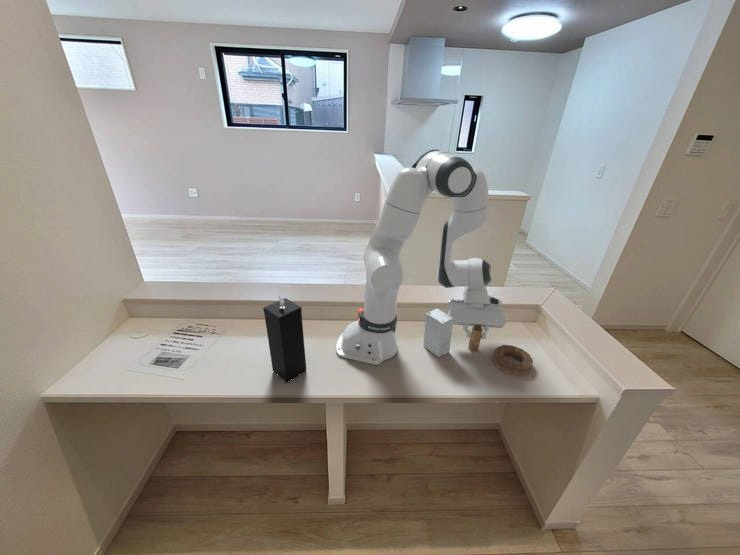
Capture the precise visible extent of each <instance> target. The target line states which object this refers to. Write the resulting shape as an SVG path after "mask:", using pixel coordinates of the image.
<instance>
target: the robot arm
mask: <svg viewBox="0 0 740 555" xmlns="http://www.w3.org/2000/svg"><path fill="white" fill-rule="evenodd" d="M433 192H435V193H437V194H439V195H442V196H443V197H446V198H451V205H452V206H451V207H452V211H451V215H450V218H449V219H448V220H446V221H444V224H443V228H442V235H441V245H440V255H439V264H438V268H437V276H436V277H437V280H438V283H439V284H440V285H441V286H443V288H445V289H448V288H450V289H451V288H458V287H459V288H460V287H461V288H462V287H463V292H462V296H463V297H462V298H463V299H455V298H454V299H451V300H449V301H447V303H446V308H447V311H448V312H447V315H449V316H451V317H452V318H453V325H457V326H462V327H463V330H464V333H465V334H466V335H465V336H466V338H467V339H470V338H471V337H472V335H471V334H472V331H470V330H469V329H468V328H469V326H470V327H471V326H472V327H474V326H475V325H480V326H481V327H482V329H483V332H482V336H481V340H486V339H487V334H488V333H487V332H489V330H490V328H494V329H495V328H496V329H502V328H504V327H505V325H506V315H505V310H504V308H503V307H502V303H503V302H502V300H501V299H499V298H496V297H493V296H491V295H489V292H488V289H487V286H488V285H489V284H490V283H491V282H492V277H491V273H492V272H491V270H492V265H491V264H490V263H489V262H487V261H486V260H485V259H482V258H478V257H472V258H468V259H461V260H459V259H457V260H455V259H452V254H453V246H454V243H455V242H456V241H458V240H459V239H461V238H464V237H465V236H468V235H471V234H473V233H475V232H477V231H479V230H480V229H482V228H483V226H484V225H485V224H486V223H487V221H488V219H489V212H490V193H489V186H488V181H487V178H486V174H485V173H484V172H483V170H481V169H480V168H479V169H478V168H476V167H473V166H472V165H471V164H470V162H468V161H467V160H466V159H465V158H463V157H461V156H457V155H455V154H454V153H452V152H450V151H449V152H448V151H445V150H440V149H431V150H427V151H425V152H423V153H422V154H421V155H420V156H418V158H417V159H416V161H415V162H414V163H413V165H412V166H411V167H405V168H402V169H401V170H399V171H398V172H397V174H396V176H395V177H394V179H393V181H392V183H391V185H390V188H389V190H388V193H387V195H386V198H385V201H384V204H383V206H382V209H381V213H380V216H379V219H378V221H377V225H376V226H375V229H374V230H373V232H372V233H371V234H372V235H371V237H370V239H369V241H368V243H367V245H366V247H365V249H364V252H363V262H364V269H365V275H366V276H365V278H366V279H365V280H366V281H365V290H364V295H363V296H364V297H363V298H364V299H363V305H364V306H363V308H361V307H360V308H359V309H358V312H357V314H358V316H357V320H356V321H353V322H351V323H349V324H348V325H347V326H346V328H345V330H344V332H342V333H341V334H340V336H339V337H338V339H337V341H336V346H335V351H336V354H338V355H337V356H338V357H340V358H344V359H348V360H353V361H357V362H362V363H367V364H371V365H375V366H379V365H380V364H382V362H384V361H387V360H389V359H392V358H393V357H394V356H395V355H396V354H397V353H398V350H399V346H398V344H397V339H396V338H397V337H396V329H397V324H398V316H397V305H398V304H397V301H398V295H399V291H400V288H401V285H402V283H403V280H404V279H403V278H404V271H403V270H404V269H403V265H402V263H401V261H400V253H401V250H402V249H403V247H404V246H405V244H406V243H407V241H408V240H410V239H411V237H413V236H412V235H413V234H414V230H415V229H416V225H417V222H418V220H419V218H420V215H421V212H422V210H423V206H424V204H425V202H426V200H427V198H428V197H429V196H430V194H431V193H433Z"/></svg>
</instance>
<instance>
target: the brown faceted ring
mask: <svg viewBox="0 0 740 555" xmlns="http://www.w3.org/2000/svg"><path fill="white" fill-rule="evenodd" d="M505 357H511V358H514V359H516V360H518V361H519V363H518V362H513V361H511V360H508V359H507V358H505ZM492 360H493V363H494V366H496V367H498V368H499V369H500V370H501V371H502V372H504V373H507V374H509V375H513V376H525V375H527V374H529V373H530V371H531V368H532V367H533V362H534V360H533V358H532V357H531V355H530V354H529V353H528V352H527V351H526V350H524V349H523V348H521V347H518V346H515V345H511V344H502V345H499V346H497V347H495V350H494V352H493V356H492Z"/></svg>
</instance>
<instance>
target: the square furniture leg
mask: <svg viewBox="0 0 740 555" xmlns="http://www.w3.org/2000/svg"><path fill="white" fill-rule="evenodd" d="M262 310H263V315H264V319H265V327H266V334H267V341H268V346H269V347H268V348H269V354H270V359H271V368H272V372H273V371H274V372H275V373H276V374H275V373H274V372H273V373H274V374H275V375H277V374H278V375H279V376H280V377H281V378H282V379H281V378H280V377H279V376H278V375H277V376H278V377H279V378H280V379H281V380H283V379H284V380H285V381H286V382H288V381H290V380H291V379H293V378H294V379H296V378H297V377H299V376H300V375H302V374H303V372H304V371H305V372H306V371H307V362H306V361H307V360H306V350H305V336H304V328H303V314H302V312H303V311H302V306H300V305H299V304H296V303H295V302H293V301H291V300H290V299H288V298H286V297H285V298H282V297H281V296H280V295H278V301H276V302H273V303H271V304H269V305H266V306H264V307H263V309H262ZM305 372H304V373H305ZM301 373H302V374H301ZM299 374H300V375H299ZM298 375H299V376H298ZM296 376H297V377H296ZM295 377H296V378H295ZM294 379H293V380H294ZM284 380H283V381H284ZM285 381H284V382H285ZM291 381H292V380H291ZM291 381H290V382H291ZM286 382H285V383H286ZM288 383H289V382H288Z"/></svg>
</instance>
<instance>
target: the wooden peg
mask: <svg viewBox="0 0 740 555" xmlns="http://www.w3.org/2000/svg"><path fill="white" fill-rule="evenodd" d="M471 332H472V334H471V335H472V337H471V338H469V342H468V347H467V348H468V350H469V351H470V352H472V353H477V352H479V348H480V344H481V340H482V339H481V336H482V333H483V332H484V330H483V327H481V326H480V325H475V326H472V327H471Z"/></svg>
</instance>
